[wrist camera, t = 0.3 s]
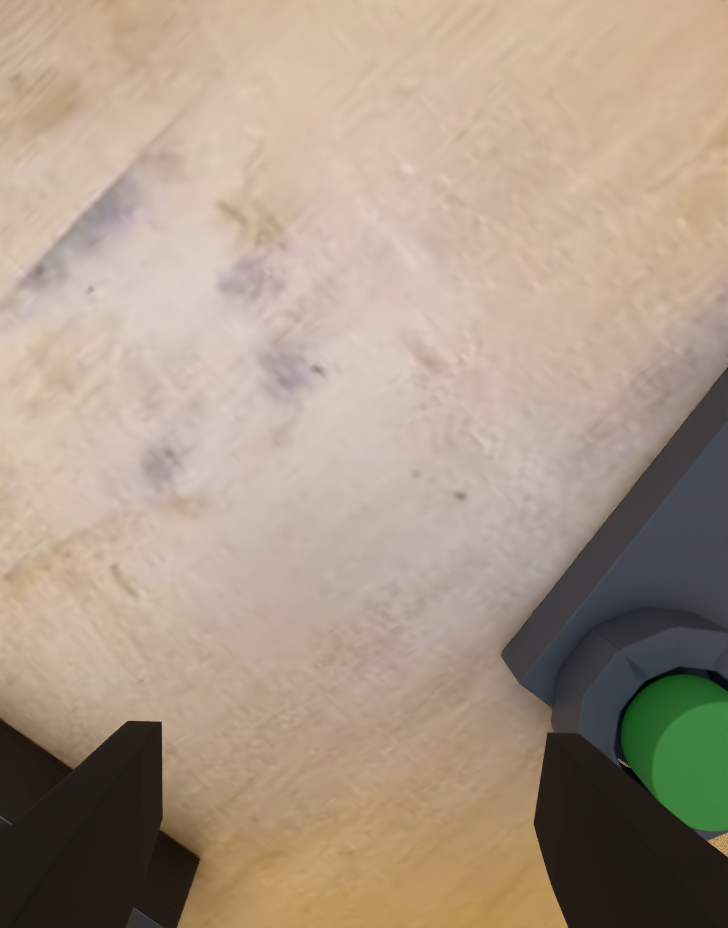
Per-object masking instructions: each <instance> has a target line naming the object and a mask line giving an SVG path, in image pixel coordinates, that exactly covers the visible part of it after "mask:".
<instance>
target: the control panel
mask: <svg viewBox="0 0 728 928" xmlns="http://www.w3.org/2000/svg"><path fill="white" fill-rule="evenodd" d="M72 771H73V770H71V769H70V768H68V767H67V766H66V765H64V764H63V763H61V762H60V761H58V760H57V759H55V758H54V757H53V756H51V755H50V754H48V753H47V752H45V751H44V750H42V749H41V748H40V747H38V746H37V745H35V744H34V743H32V742H31V741H30V740H28V739H27V738H25V737H24V736H22V735H21V734H19V733H18V732H17V731H15V730H14V729H12V728H11V727H9V726H8V725H6V724H5V723H4V722H2V721H1V720H0V833H1V832H3V831H4V830H5V829H6V828H8V827H9V826H10V825H11V824H12V823H14V822H15V821H16V820H17V819H19V818H20V817H21V816H22V815H23V814H24V813H26V812H27V811H28V810H29V809H30V808H31V807H32V806H34V805H35V804H36V803H37V802H38V801H39V800H40V799H42V798H43V797H44V796H45V795H46V794H47V793H48V792H50V791H51V790H52V789H53V788H54V787H55V786H56V785H57V784H59V783H60V782H61V781H62V780H63V779H64V778H65V777H66V776H68V775H69V774H70V773H71V772H72ZM199 861H200V859H199V858H198V857H197V856H195V855H194V854H192V853H191V852H189V851H188V850H186V849H185V848H184V847H182V846H181V845H179V844H178V843H176V842H175V841H173V840H172V839H171V838H169V837H168V836H166V835H165V834H163V833H162V832H161V831H159V832H158V835H157V839H156V842H155V846H154V849H153V853H152V856H151V859H150V863H149V866H148V869H147V873H146V876H145V879H144V882H143V885H142V887H141V890H140V892H139V895H138V897H137V900H136V902H135V905H134V907H133V910H132V912H131V915H130V917H129V920H128V922H127V925H126V927H125V928H177V926H178V923H179V920H180V917H181V914H182V911H183V908H184V905H185V902H186V899H187V896H188V894H189V891H190V888H191V885H192V882H193V879H194V876H195V873H196V870H197V867H198V864H199Z"/></svg>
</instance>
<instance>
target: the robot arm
mask: <svg viewBox="0 0 728 928" xmlns="http://www.w3.org/2000/svg"><path fill="white" fill-rule="evenodd" d="M162 818H163V810H162V722H150V721H127V722H126V723H125V724H124V725H122V726H121V727H120V728H119V729H118V730H117V731H116V732H114V733H113V734H112V735H111V736H110V737H109V738H108V739H107V740H106V741H105V742H104V743H102V744H101V745H100V746H99V747H98V748H97V749H96V750H95V751H94V752H93V753H92V754H91V755H89V756H88V757H87V758H86V759H85V760H84V761H83V762H82V763H81V764H80V765H79V766H77V767H76V768H75V769H74V770H73V771H72V772H71V773H70V774H69V775H68V776H66V777H65V778H64V779H63V780H62V781H61V782H60V783H59V784H57V785H56V786H55V787H54V788H53V789H52V790H51V791H50V792H48V793H47V794H46V795H45V796H44V797H43V798H42V799H40V800H39V801H38V802H37V803H36V804H35V805H34V806H32V807H31V808H30V809H29V810H28V811H27V812H26V813H24V814H23V815H22V816H21V817H20V818H19V819H17V820H16V821H15V822H14V823H12V824H11V825H10V826H9V827H8V828H6V829H5V830H4V831H3V832H1V833H0V928H125V927H126V925H127V922H128V920H129V917H130V915H131V912H132V910H133V907H134V905H135V902H136V900H137V897H138V895H139V892H140V890H141V887H142V885H143V882H144V879H145V876H146V873H147V869H148V866H149V863H150V859H151V856H152V853H153V849H154V846H155V842H156V839H157V835H158V832H159V828H160V825H161V821H162ZM534 827H535V831H536V834H537V838H538V841H539V845H540V849H541V852H542V856H543V859H544V863H545V866H546V869H547V872H548V876H549V879H550V882H551V885H552V888H553V891H554V893H555V896H556V898H557V901H558V903H559V906H560V908H561V910H562V913H563V915H564V918H565V920H566V923H567V925H568V928H728V857H727V856H725V855H724V854H723V853H721V852H720V851H719V850H718V849H716V848H715V847H714V846H712V845H711V844H710V843H709V842H707V841H706V840H705V839H704V838H702V837H701V836H700V835H699V834H697V833H696V832H695V831H694V830H693V829H691V828H690V827H689V826H688V825H686V824H685V823H684V822H683V821H682V820H680V819H679V818H678V817H677V816H676V815H674V814H673V813H672V812H671V811H670V810H668V809H667V808H666V807H665V806H664V805H662V804H661V803H660V802H659V801H658V800H657V799H655V798H654V797H653V796H652V795H651V794H650V793H648V792H647V791H646V790H645V789H644V788H643V787H641V786H640V785H639V784H638V783H637V782H636V781H634V780H633V779H632V778H631V777H630V776H629V775H628V774H626V773H625V772H624V771H623V770H622V769H621V768H620V767H618V766H617V765H616V764H615V763H614V762H613V761H611V760H610V759H609V758H608V757H607V756H606V755H605V754H603V753H602V752H601V751H600V750H599V749H597V748H596V747H595V746H594V745H593V744H592V743H590V742H589V741H588V740H587V739H585V738H584V737H583V736H582V735H580V734H579V733H547V740H546V746H545V753H544V759H543V766H542V772H541V779H540V785H539V792H538V798H537V805H536V812H535V818H534Z"/></svg>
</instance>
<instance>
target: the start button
mask: <svg viewBox="0 0 728 928" xmlns="http://www.w3.org/2000/svg"><path fill="white" fill-rule="evenodd" d="M621 743H622V749H623V752H624V756H625V758H626V760H627V762H628V764H629V766H630V767H631V769H632V770H633V771H634V773H635V774H636V775H637V776H638V777H639V779H640V780H641V781H642V782H643V783H644V785H645V786H646V787H647V788H648V789H649V791H650V792H651V793H652V794H653V795H654V797H655V798H656V799H657V800H658V801H659V802H660V803H661V804H662V805H664V806H665V807H666V808H667V809H668V810H670V811H671V812H672V813H673V814H674V815H676V816H677V817H678V818H679V819H680V820H682V821H683V822H684V823H685V824H686V825H688V826H690V827H692V828H695V829H699V830H704V831H725V830H728V692H727V691H726V690H725V689H723V688H722V687H720V686H719V685H717V684H716V683H714V682H713V681H711V680H709V679H707V678H704V677H701V676H696V675H690V674H676V675H670V676H666V677H663V678H660V679H658V680H656V681H654V682H652V683H650V684H649V685H647V686H646V687H645V688H643V689H642V690H641V691H640V692H639V693H638V694H637V695H636V696H635V697H634V699H633V700H632V702H631V703H630V704H629V706H628V708H627V710H626V712H625V715H624V718H623V722H622V727H621Z"/></svg>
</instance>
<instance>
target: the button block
mask: <svg viewBox="0 0 728 928" xmlns="http://www.w3.org/2000/svg"><path fill="white" fill-rule="evenodd" d="M501 657H502V658H503V660H504V661H505V663H506V664H507V666H508V667H509V669H510V670H511V672H512V673H513V675H514V676H515V678H516V679H517V681H518V682H519V683H520V684H521V685H522V686H524V687H525V688H526V689H528V690H529V691H530V692H532V693H533V694H534V695H536V696H537V697H538V698H540V699H541V700H542V701H544V702H545V703H546V704H548V705H549V706H550V707H551V708H553V710H552V716H551V722H552V727H553V729H554V732H555V733H579V734H580V735H582V736H583V737H584V738H585V739H587V740H588V741H589V742H590V743H592V744H593V745H594V746H595V747H596V748H597V749H599V750H600V751H601V752H602V753H603V754H605V755H606V756H607V757H608V758H609V759H610V760H611V761H613V762H614V763H615V764H616V765H617V766H618V767H620V768H621V769H622V770H623V771H624V772H625V773H626V774H628V775H629V776H630V777H631V778H632V779H633V780H634V781H636V782H637V783H638V784H639V785H640V786H641V787H643V788H644V789H645V790H646V791H647V792H648V793H650V794H651V795H652V796H653V797H654V795H653V794H652V793H651V792H650V791H649V789H648V788H647V787H646V786H645V785H644V783H643V782H642V781H641V780H640V779H639V777H638V776H637V775H636V774H635V773H634V771H633V770H632V769H631V768H630V767H626V766H624V765H623V764H622V763H620V762H619V760H618V758H619V759H621V760H622V761H623V762H625V763H626V764H627V765H629V764H628V762H627V760H626V758H625V756H624V752H623V749H622V743H621V727H622V722H623V718H624V715H625V712H626V710H627V708H628V706H629V704H630V703H631V702H632V700H633V699H634V697H635V696H636V695H637V694H638V693H639V692H640V691H641V690H642V689H643V688H645V687H646V686H647V685H649V684H650V683H652V682H654V681H656V680H658V679H660V678H663V677H666V676H670V675H676V674H690V675H696V676H701V677H704V678H707V679H709V680H711V681H713V682H714V683H716V684H717V685H719V686H720V687H722V688H723V689H725V690H726V691H727V692H728V369H727V370H726V371H725V372H724V374H723V375H722V376H721V377H720V379H719V380H718V381H717V382H716V384H715V385H714V386H713V387H712V389H711V390H710V391H709V393H708V394H707V395H706V396H705V398H704V399H703V400H702V401H701V403H700V404H699V405H698V406H697V408H696V409H695V410H694V411H693V413H692V414H691V415H690V416H689V418H688V419H687V420H686V422H685V423H684V424H683V425H682V427H681V428H680V429H679V430H678V432H677V433H676V434H675V435H674V437H673V438H672V439H671V440H670V442H669V443H668V444H667V445H666V447H665V448H664V449H663V451H662V452H661V453H660V454H659V456H658V457H657V458H656V459H655V461H654V462H653V463H652V464H651V466H650V467H649V468H648V469H647V471H646V472H645V473H644V474H643V476H642V477H641V478H640V480H639V481H638V482H637V483H636V485H635V486H634V487H633V488H632V490H631V491H630V492H629V493H628V495H627V496H626V497H625V498H624V500H623V501H622V502H621V503H620V505H619V506H618V507H617V509H616V510H615V511H614V512H613V514H612V515H611V516H610V517H609V519H608V520H607V521H606V522H605V524H604V525H603V526H602V527H601V529H600V530H599V531H598V532H597V534H596V535H595V536H594V538H593V539H592V540H591V541H590V543H589V544H588V545H587V546H586V548H585V549H584V550H583V551H582V553H581V554H580V555H579V556H578V558H577V559H576V560H575V561H574V563H573V564H572V565H571V567H570V568H569V569H568V570H567V572H566V573H565V574H564V575H563V577H562V578H561V579H560V580H559V582H558V583H557V584H556V585H555V587H554V588H553V589H552V590H551V592H550V593H549V594H548V596H547V597H546V598H545V599H544V601H543V602H542V603H541V604H540V606H539V607H538V608H537V609H536V611H535V612H534V613H533V614H532V616H531V617H530V618H529V619H528V621H527V622H526V623H525V625H524V626H523V627H522V628H521V630H520V631H519V632H518V633H517V635H516V636H515V637H514V638H513V640H512V641H511V642H510V643H509V645H508V646H507V647H506V648H505V650H504V651H503V652H502V654H501ZM654 798H655V797H654ZM655 799H656V798H655ZM689 827H690V826H689ZM690 828H691V829H693V830H694V831H695V832H696V833H697V834H699V835H700V836H701V837H702V838H704V839H705V840H706V841H708V840H710V839H713V838H715V837H718V836H720V835H722V834H725V833H727V832H728V830H725V831H704V830H699V829H695V828H692V827H690Z"/></svg>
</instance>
